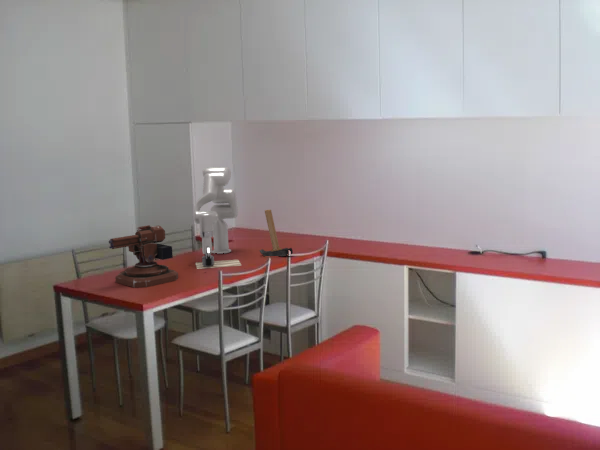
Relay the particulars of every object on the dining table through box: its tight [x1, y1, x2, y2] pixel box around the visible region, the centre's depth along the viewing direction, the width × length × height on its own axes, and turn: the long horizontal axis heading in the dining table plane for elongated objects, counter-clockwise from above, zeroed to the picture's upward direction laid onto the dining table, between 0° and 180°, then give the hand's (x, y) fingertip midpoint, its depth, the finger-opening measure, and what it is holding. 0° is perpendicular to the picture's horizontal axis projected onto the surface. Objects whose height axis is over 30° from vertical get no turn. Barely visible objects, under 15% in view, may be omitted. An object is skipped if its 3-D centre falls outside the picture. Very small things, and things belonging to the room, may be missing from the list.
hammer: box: [258, 209, 293, 257], centre depth 439 cm, size 20×5×30 cm, turn 70°
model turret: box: [108, 225, 179, 288], centre depth 381 cm, size 28×35×30 cm
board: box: [195, 259, 242, 270], centre depth 416 cm, size 18×26×6 cm
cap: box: [201, 255, 215, 265], centre depth 412 cm, size 7×7×5 cm
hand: (208, 263), depth 412 cm, fingers closed on cap, 7 cm apart
